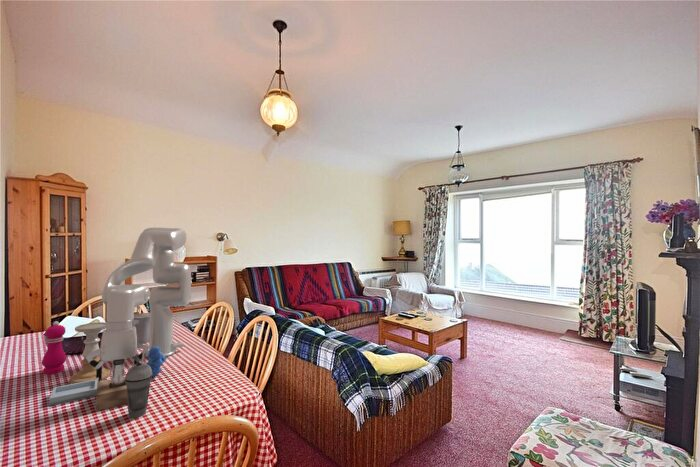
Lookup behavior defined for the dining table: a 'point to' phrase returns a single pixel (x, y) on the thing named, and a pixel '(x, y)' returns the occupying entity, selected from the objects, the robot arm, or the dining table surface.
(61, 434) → the dining table surface
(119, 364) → the pin
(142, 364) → the beverage cup
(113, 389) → the block
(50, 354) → the pepper mill
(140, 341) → the pillar candle
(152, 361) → the grapes
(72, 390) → the dish
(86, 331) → the candle holder
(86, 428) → the dining table surface
